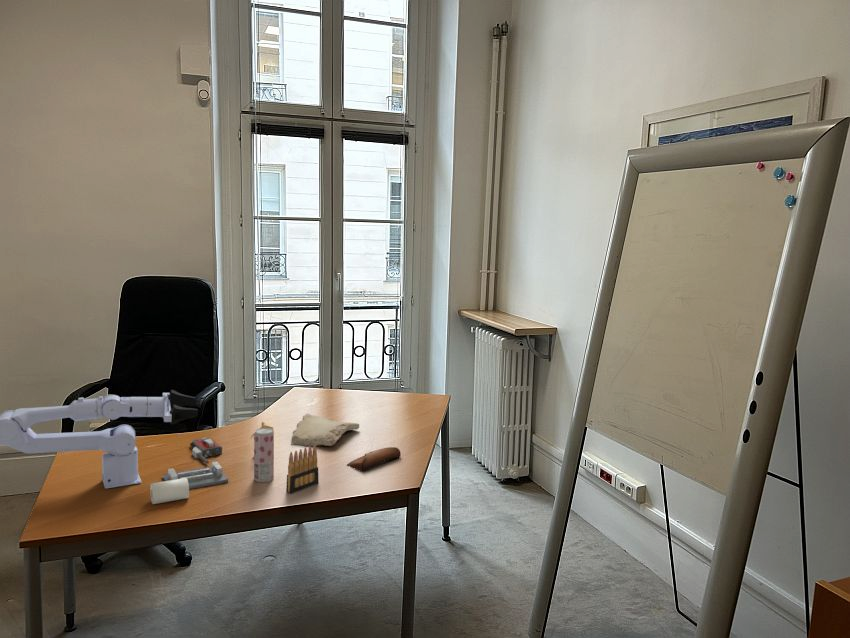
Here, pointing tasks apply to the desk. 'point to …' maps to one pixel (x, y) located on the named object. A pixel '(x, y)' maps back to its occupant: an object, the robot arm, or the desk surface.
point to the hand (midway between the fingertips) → (196, 406)
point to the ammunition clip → (302, 470)
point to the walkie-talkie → (205, 448)
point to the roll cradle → (199, 476)
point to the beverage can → (263, 455)
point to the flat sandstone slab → (319, 431)
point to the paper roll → (169, 490)
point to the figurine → (264, 427)
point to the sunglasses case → (375, 458)
